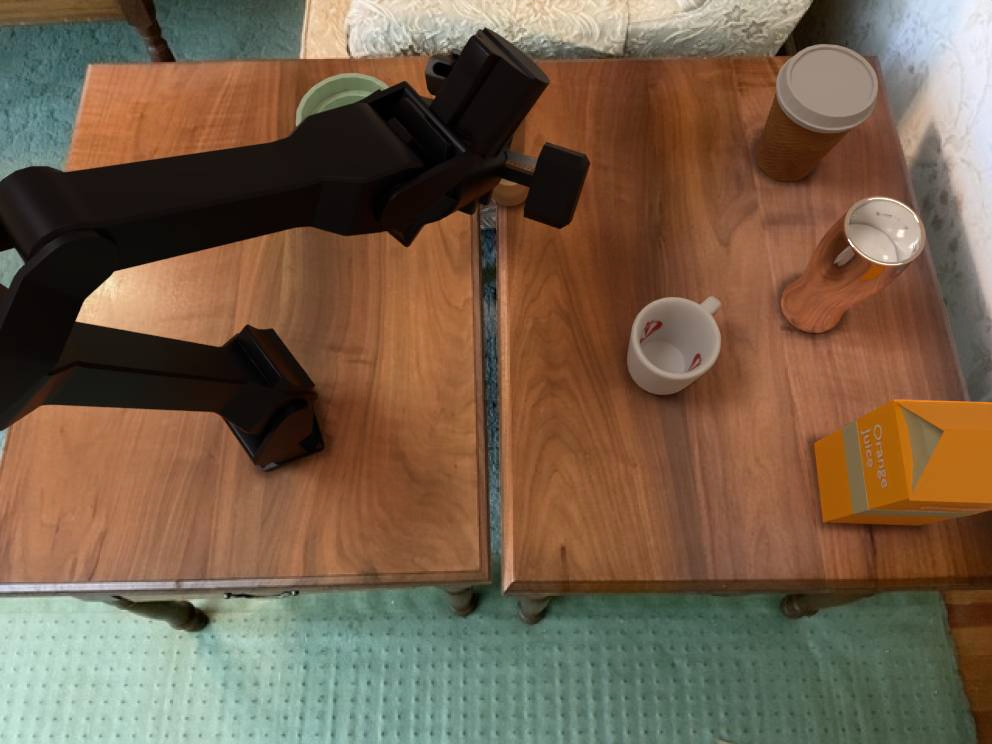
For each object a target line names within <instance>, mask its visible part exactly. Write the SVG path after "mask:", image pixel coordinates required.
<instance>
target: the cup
mask: <svg viewBox="0 0 992 744" xmlns="http://www.w3.org/2000/svg"><path fill="white" fill-rule="evenodd" d="M721 308H722V301H720V300H719V298H716V297H715V296H713V295H711V296H708V297H707V298H706V299H704V300H703V301H702V302H701V303H698V302H696V301H693V300H691V299H687V298H685V297H677V296H669V297H663V298H659V299H656V300H654V301H652V302H649V303H648V304H646V305H645V307H643V308H642V309H641V310H640V311H639V312H638V314H637V315H636V317H635V318H634V321H633V323H632V326H631V330H630V335H629V336H630V337H629V341H628V342H629V343H628V347H627V353H626V354H627V355H626V365H627V369H628V373H629V375H630V377H631V379H632V380H633V381H634V383H635V384H636V385H637V387H639V388H641V389H642V390H643V391H646V392H648V393H650V394H653V395H657V396H668V395H672V394H675V393H678V392H680V391H682V390H684V389H685V388H687V387H688V386H690V385H691V384H692V383H694V382H695V381H696V380H698V379H699V378H700V377H701V376H703V375H704V374H706V373H707V372H708V371H709V370H710V369H711V368H712V367H713V366H714V364H715V363H716V362H717V360H718V357H719V355H720V352H721V348H722V347H721V346H722V336H721V331H720V328H719V326H718V323H717V321H716V319H715V318H714V316H716V314H718V312H719V311H720V309H721Z"/></svg>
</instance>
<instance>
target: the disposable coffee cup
mask: <svg viewBox="0 0 992 744" xmlns="http://www.w3.org/2000/svg"><path fill="white" fill-rule="evenodd" d="M878 91H879V80H878V76H877V73H876V71H875V69H874V68H873V67H872V65H871V64H870V63H869V62H868V60H867V59H866V58H864V56H862V55H861V54H859V53H858V52H857V51H855V50H853V49H851V48H848V47H846V46H841V45H838V44H827V43H826V44H825V43H821V44H814V45H811V46H807V47H805V48H803V49H801V50H799V51H798V52H796V54H795V55H793V56H792V57H790V58H788V60H787V61H786V62H784V63H783V65H782V66H781V67H780V69H779V71H778V73H777V76H776V81H775V93H774V96H773V100H772V103H771V106H770V108H769V111H768V115H767V119H766V121H765V124H764V127H763V130H762V133H761V135H760V139H759V141H758V144H757V147H756V150H755V158H756V163H757V165H758V167H759V168H760V170H761V171H762V172H763V173H764V174H765V175H767V176H768V177H770V178H772V179H775V180H776V181H780V182H789V183H790V182H796V181H800V180H802V179H803V178H805V177H807V176H808V175H809V174H810V172H812V171H813V170H814V169H815V167H816V166H818V164H819V163H820V162H821V161H822V160H823V159H824V158H825V157H826V156H827V155H828V154H829V153H831V152H832V150H833V149H834V148H835V147H836V146H837V145H838V143H840V142H841V140H843V139H844V137H845V136H846V135H847V134H848V133H849V132H850V131H852V129H853V128H854V127H857V126H859V125H860V124H862V123H864V122H865V121H866V120H867V119H868V118H869V117H870V116H871V114H872V113H873V111H874V110H875V106H877V105H876V104H877V98H878Z"/></svg>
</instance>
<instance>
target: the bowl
mask: <svg viewBox="0 0 992 744" xmlns="http://www.w3.org/2000/svg"><path fill="white" fill-rule="evenodd" d="M389 87H390V86H389V85H388V84H387V83H385V82H384V81H382V80H380V79H378V78H377V77H374V76H372V75H369V74H363V73H360V72H359V73H358V72H350V73H347V72H346V73H345V72H344V73H338V74H336V75H332V76H330V77H326V78H324V79H323V80H321V81H320V82H318V83H316V84H315V85H313V86H312V87H311V88H309V90H307V92H306V93H305V94H304V95H303V96H302V97H301V100H300V102H299V105H298V106H297V109H296V112H295V113H296V114H295V128H296V127H297V126H298V125H299V123H300V122H301V121H302V120H303V119H304V118H305V117H307V116H309V115H313V114H316V113H320V112H323V111H327V110H330V109H334V108H337V107H341V106H344V105H348V104H352V103H355V102H357V101H359V100H362V99H364V98H365V97H367V96H369V95H370V94H372V93H373V92H375V91H377V90H378V89H380V90H381V91H382V90H384V89H387V88H389Z"/></svg>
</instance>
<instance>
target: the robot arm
mask: <svg viewBox="0 0 992 744" xmlns="http://www.w3.org/2000/svg"><path fill="white" fill-rule="evenodd" d="M424 78H425V84H426V90H427V91H428V93H429V95H431V96H435V97H434V98H431V97H427V96H423V95H420V94H419V93H418V92H417V91H416V89H415V88H413V86H412V85H411V84H410V83H409V82H408V81H407V80H403V81H401V82H399V83H396V84H394V85H392V86H388V87H389V88H387V89H384V90H382V91H381V90H380V89H378V90H377V91H375V92H373V93H372V94H370V95H369V96H367V97H365V98H364V99H362V100H359V101H357V102H355V103H352V104H348V105H344V106H341V107H337V108H334V109H330V110H327V111H323V112H320V113H316V114H313V115H309V116H307V117H305V118H304V119H303V120H302V121H301V122H300V123H299V125H298V126H297V127H296V126H295V127H294V129H293V130H292V131H291V132H290V133H289V134H288V135H287V136H286V137H284V138H280V139H275V140H273V141H270V142H264V143H256V144H250V145H249V144H248V145H243V146H236V147H229V148H222V149H215V150H209V151H201V152H195V153H188V154H180V155H173V156H167V157H160V158H159V157H158V158H152V159H146V160H140V161H133V162H125V163H119V164H110V165H104V166H98V167H91V168H83V169H76V170H69V171H63V170H62V169H58V168H55V167H52V166H49V165H30V166H27V167H24V168H19V169H16V170H14V171H13V172H12V173H11V172H10V174H8V175H6V176H5V177H4V178H2V179H1V180H0V253H3V252H6V251H10V250H13V249H15V251H16V253H17V254H18V256H19V257H20V259H21V260H22V262H23V265H22V266H21V267H20V268H19V269H18V270H17V271H16V272H15V274H14V276H13V277H12V279H11V282H10V285H9V286H8V287H7V286H5V285H4V284H2V283H1V282H0V432H3V431H5V430H7V429H8V428H10V427H11V426H13V425H14V424H16V423H18V422H19V421H20V420H22V419H23V418H25V417H26V416H28V415H29V414H31V413H32V412H34V411H35V410H37V409H38V408H39V407H42V406H68V407H86V408H87V407H89V408H90V407H91V408H113V409H131V410H132V409H134V410H135V409H136V410H153V411H154V410H155V411H156V410H157V411H177V412H181V411H182V412H198V413H199V412H200V413H213V414H216V415H217V416H219V417H220V418H221V419H222V420H223V421H224V423H225V425H226V426H227V428H228V429H229V430H230V431H231V433H232V434H233V436H234V438H235V439H236V440H237V442H238V443H239V445H240V446H241V447H242V449H243V451H244V452H245V453H246V455H247V456H248V457H249V459H250V460H251V462H252V463H253V465H254V466H255V467H256V466H257V468H258V470H260V471H261V472H268V471H270V470H273V469H276V468H278V467H279V468H280V467H283V466H285V465H287V464H290V463H294V462H296V461H298V460H301V459H304V458H308V457H309V456H313V455H316V454H318V453H321V452H323V451H324V450H325V448H326V443H325V440H324V437H323V432H322V430H321V426H320V423H319V420H318V416H317V413H316V410H315V409H316V408H315V406H314V404H315V402H316V401H317V400H319V396H320V395H319V393H318V392H317V391H316V389H315V387H316V383H314V381H313V379H312V378H311V377H310V376H309V375H308V373H307V372H306V370H305V369H304V367H303V366H302V365H301V363H300V362H298V359H296V357H295V356H294V354H293V353H292V352H291V351H290V349H289V348H288V346H287V345H286V344H285V343H284V341H283V340H282V338H281V337H280V336H279V335H278V333H277V332H276V331H275V329H274V328H272V327H271V328H257V327H254V326H253V325H251V324H248V323H247V324H245V325H244V326H243V328H242V329H241V330H240V331H239V332H237V333H235V334H234V335H233V336H232V337H231V338H229V340H227V341H225V342H224V344H222V345H221V346H217V345H211V344H205V343H200V342H195V341H188V340H183V339H177V338H172V337H165V336H160V335H154V334H149V333H144V332H139V331H132V330H127V329H121V328H115V327H111V326H103V325H98V324H92V323H87V322H82V321H77V319H78V317H79V314H80V312H81V310H82V307H83V305H84V303H85V301H86V299H88V298H89V297H90V296H91V295H92V294H93V293H94V292H95V291H96V290H97V289H98V288H100V287H101V286H102V285H103V283H105V282H106V281H107V280H108V279H109V278H110V277H112V275H113V274H114V273H115V272H119V271H123V270H127V269H131V268H135V267H139V266H143V265H148V264H152V263H155V262H159V261H164V260H168V259H172V258H176V257H181V256H184V255H189V254H194V253H197V252H203V251H205V250H210V249H214V248H218V247H223V246H227V245H231V244H234V243H239V242H243V241H248V240H251V239H256V238H260V237H264V236H267V235H272V234H276V233H280V232H284V231H289V230H293V229H299V228H313V229H317V230H321V231H324V232H327V233H331V234H335V235H339V236H342V237H353V236H362V235H373V234H380V233H385V232H387V234H389V235H390V236H391V237H393V238H394V239H395V240H396V241H398V243H400V244H401V245H402V246H403V247H404V248H410V247H411V245H412V244H413V242H414V241H415V240H416V238H417V236H418V235H419V234H420V232H421V231H422V229H423V228H424V227H425V226H426V225H429V224H433V223H437V222H439V221H442V220H443V219H445V218H447V217H449V216H451V215H452V214H454V213H456V212H460V213H463V214H466V215H469V216H473V215H474V214H476V211H477V208H478V204H479V205H482V206H486V207H487V206H489V205H490V204H491V201H492V199H493V198H492V194H493V190H494V188H495V187H496V186H497V185H498V184H499V183H500V181H501V179H505V180H508V181H511V182H514V183H517V184H520V185H523V186H526V187H529V192H528V195H527V198H526V199H525V201H524V206H523V218H525V219H528V220H531V221H534V222H537V223H540V224H543V225H546V226H548V227H552V228H555V229H557V230H561V229H564V228H566V227H568V226H569V225H571V223H572V222H573V219H574V216H575V213H576V210H577V207H578V204H579V200H580V197H581V194H582V191H583V188H584V185H585V181H586V178H587V175H588V172H589V169H590V166H591V162H590V160H589V157H588V155H587V154H585V153H583V152H580V151H577V150H573V149H570V148H567V147H564V146H561V145H559V144H554V143H552V142H549V141H545V143H544V144H543V146H542V148H541V150H540V152H539V155H538V157H533V156H531V155H528V154H525V153H524V154H522V153H519V152H516V151H513V150H510V147H511V143H512V139H513V134H514V133H515V131H516V130H517V128H518V127H519V126H520V124H521V123H522V121H523V120H524V119H525V117H526V118H527V116H528V114H529V113H530V112H531V110H532V109H533V108H534V106H535V104H536V103H537V102H538V100H539V99H540V98H541V96H542V95H543V93H544V92H545V91H546V89H547V87H548V86H549V85H550V84H551V80H550V78H549V77H548V76H547V74H546V73H545V72H544V70H543V69H541V67H540V65H538V64H537V63H536V62H535V61H533V60H532V58H530V57H529V56H528V55H527V54H526V53H524V52H523V51H522V50H521V49H519V48H518V47H517V46H515V45H514V44H513V43H512V42H510V41H509V40H507V39H506V38H504V37H503V36H502V35H500V34H499V33H497V32H496V31H494V30H493V29H490V28H488V27H486V26H484V28H483V29H482V28H479V29H477V30H476V33H475V34H472V35H471V36H470V37H469V39H468V40H467V41H466V43H465V45H464V46H463V48H462V50H461V49H458V48H452V49H451V50H450V53H449V54H448V55H445V54H441V53H437V54H433V55H430V56H429V57H428V61H427V64H426V67H425V70H424ZM508 160H509V162H510V163H512V162H513V161H514V165H516V164H517V162H518V166H521V164H523V168H525V166H526V165H527V169H529V168H530V171H528V170H525V169H522V168H519V167H516V166H513V165H510V164H507V163H505V162H507V161H508ZM319 445H321V447H319ZM318 447H319V448H318ZM263 466H264V467H263Z"/></svg>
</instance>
